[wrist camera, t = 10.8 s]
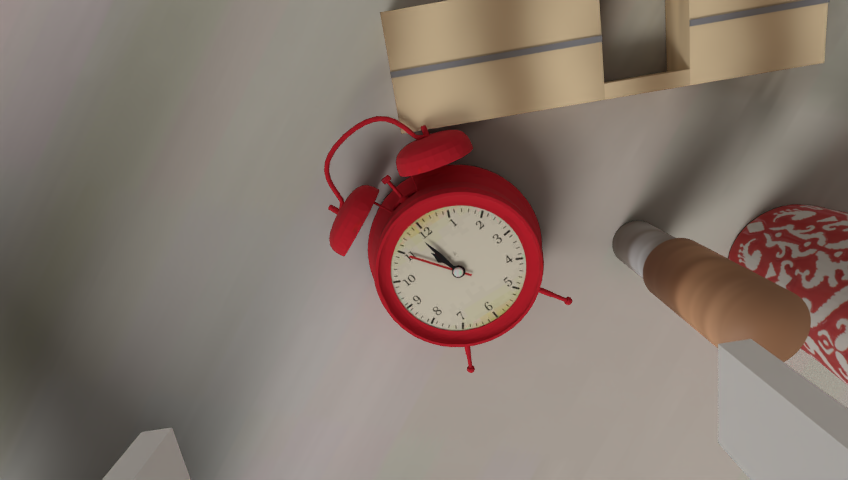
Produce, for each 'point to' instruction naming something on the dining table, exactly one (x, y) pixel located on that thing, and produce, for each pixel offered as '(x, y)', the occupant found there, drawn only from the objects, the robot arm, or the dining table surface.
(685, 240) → the wooden tool handle
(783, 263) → the mug
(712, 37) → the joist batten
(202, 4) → the dining table surface
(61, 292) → the dining table surface
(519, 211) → the alarm clock
